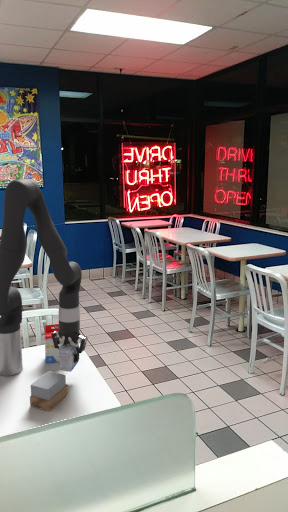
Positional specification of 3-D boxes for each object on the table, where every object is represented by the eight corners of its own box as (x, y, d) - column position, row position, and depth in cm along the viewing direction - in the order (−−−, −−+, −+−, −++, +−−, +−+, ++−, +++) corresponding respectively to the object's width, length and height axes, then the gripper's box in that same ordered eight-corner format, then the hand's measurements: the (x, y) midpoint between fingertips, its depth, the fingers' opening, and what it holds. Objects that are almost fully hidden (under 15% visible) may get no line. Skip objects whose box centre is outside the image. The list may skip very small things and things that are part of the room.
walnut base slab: (30, 407, 132) (29, 396, 131) (48, 390, 142) (48, 380, 141) (50, 412, 129) (50, 401, 128) (68, 394, 139) (68, 384, 138)
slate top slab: (31, 395, 131) (30, 384, 131) (49, 381, 140) (48, 370, 140) (48, 400, 129) (48, 389, 128) (65, 385, 138) (65, 375, 137)
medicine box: (71, 372, 142) (71, 350, 140) (59, 370, 143) (59, 348, 141) (78, 361, 150) (78, 340, 148) (67, 360, 150) (67, 339, 148)
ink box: (45, 363, 160) (44, 329, 157) (45, 357, 165) (44, 325, 161) (67, 360, 162) (66, 327, 159) (66, 355, 167) (65, 323, 164)
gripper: (46, 317, 140) (47, 361, 144) (82, 324, 136) (82, 369, 140) (57, 310, 147) (57, 352, 151) (91, 316, 143) (91, 359, 147)
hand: (69, 360), depth 146 cm, fingers closed on medicine box, 4 cm apart
